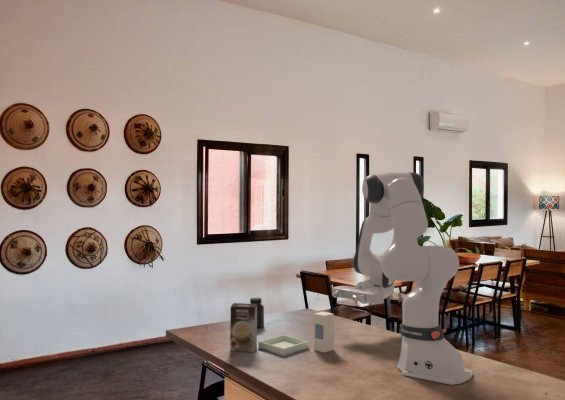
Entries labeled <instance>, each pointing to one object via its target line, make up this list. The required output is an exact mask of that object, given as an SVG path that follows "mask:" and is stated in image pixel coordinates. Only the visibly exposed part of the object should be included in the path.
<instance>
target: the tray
mask: <svg viewBox="0 0 565 400" xmlns="http://www.w3.org/2000/svg"><path fill="white" fill-rule="evenodd" d="M257 341H258V340H257ZM257 343H258V345H257V346H258V349H259V350H262V351H266V352H269V353H272V354H276V355H279V356H282V357H285V356H286V357H287V356H288V355H291V354H295V353H298V352H301V351H305V350H308V349H310V341H309V340H305V339H301V338H297V337H293V336H291V335H287V334H282V335H276V336H273V337H270V338H266V339H263V340H259V341H258V342H257Z"/></svg>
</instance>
